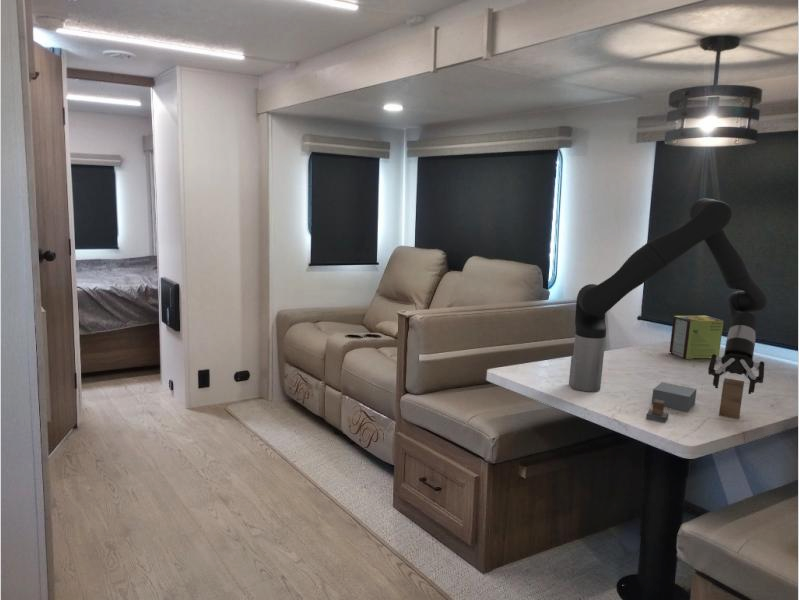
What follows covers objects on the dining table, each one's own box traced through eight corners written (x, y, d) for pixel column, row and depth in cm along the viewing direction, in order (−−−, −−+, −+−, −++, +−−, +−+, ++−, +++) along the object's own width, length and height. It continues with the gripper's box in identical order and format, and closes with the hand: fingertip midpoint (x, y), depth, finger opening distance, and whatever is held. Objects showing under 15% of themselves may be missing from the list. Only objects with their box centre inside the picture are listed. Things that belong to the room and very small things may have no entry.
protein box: (719, 358, 244) (724, 320, 242) (685, 359, 241) (690, 320, 238) (700, 352, 254) (705, 315, 252) (668, 352, 251) (672, 315, 248)
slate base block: (660, 397, 193) (661, 382, 192) (694, 404, 187) (696, 389, 186) (651, 405, 185) (653, 389, 184) (687, 413, 179) (689, 396, 178)
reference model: (649, 413, 176) (651, 397, 175) (668, 417, 173) (670, 400, 173) (646, 418, 172) (647, 401, 171) (665, 422, 169) (667, 405, 168)
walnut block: (720, 410, 181) (724, 378, 180) (739, 414, 179) (744, 381, 177) (718, 415, 177) (723, 382, 176) (738, 419, 175) (743, 385, 173)
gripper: (714, 333, 187) (705, 378, 179) (768, 340, 180) (762, 388, 172) (713, 347, 192) (705, 391, 184) (766, 354, 185) (760, 401, 177)
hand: (732, 389), depth 178 cm, fingers open, 8 cm apart
